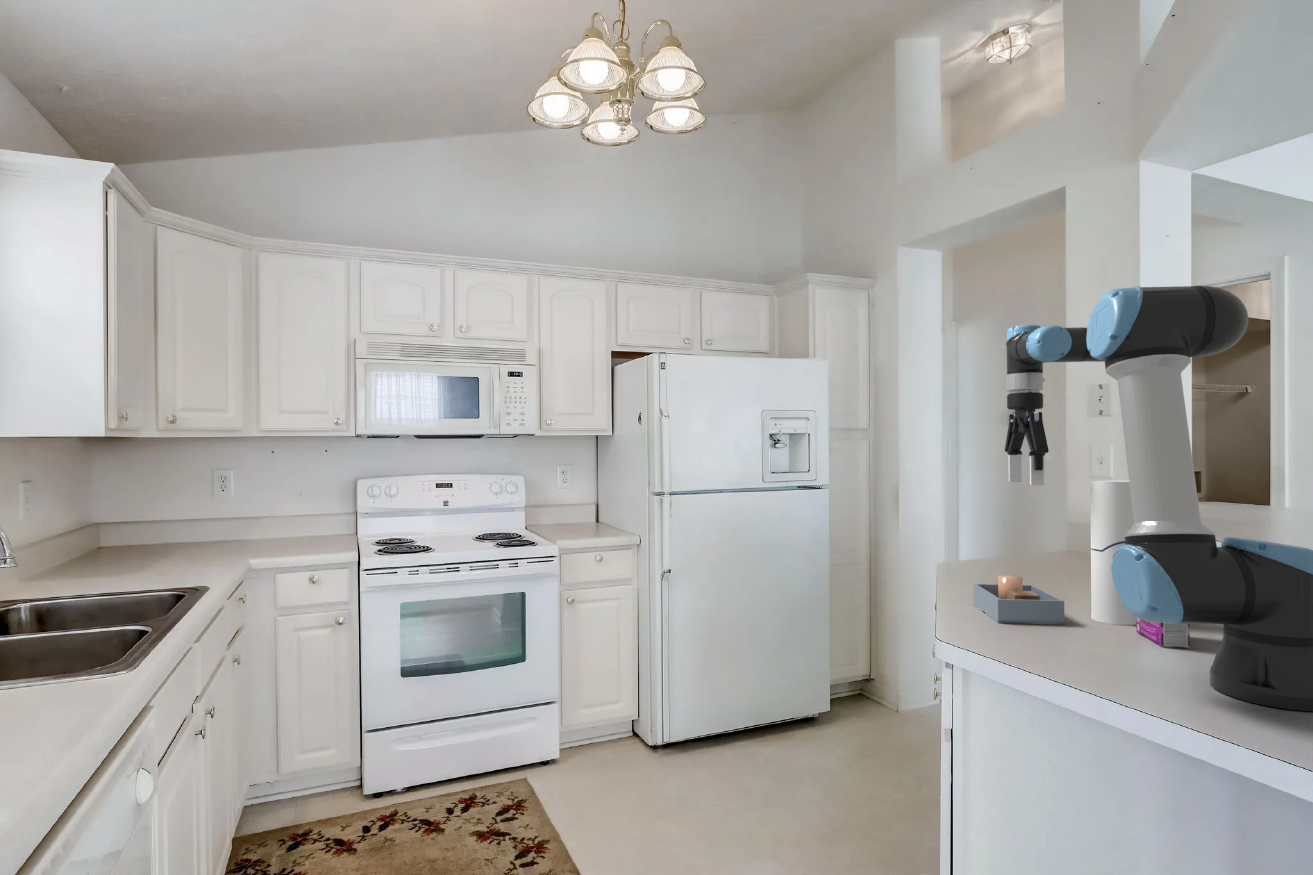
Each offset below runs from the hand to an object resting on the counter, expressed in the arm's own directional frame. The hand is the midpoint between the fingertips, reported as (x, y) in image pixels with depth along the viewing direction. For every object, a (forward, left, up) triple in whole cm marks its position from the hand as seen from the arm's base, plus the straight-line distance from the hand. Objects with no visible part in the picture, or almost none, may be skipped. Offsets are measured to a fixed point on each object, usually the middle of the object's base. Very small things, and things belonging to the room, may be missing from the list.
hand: (1025, 483), depth 168 cm
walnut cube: (-12, +5, -28) cm, 31 cm away
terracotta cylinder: (-4, +5, -28) cm, 29 cm away
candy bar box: (-27, -15, -29) cm, 42 cm away
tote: (-8, +5, -29) cm, 30 cm away
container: (-11, -14, -29) cm, 34 cm away
